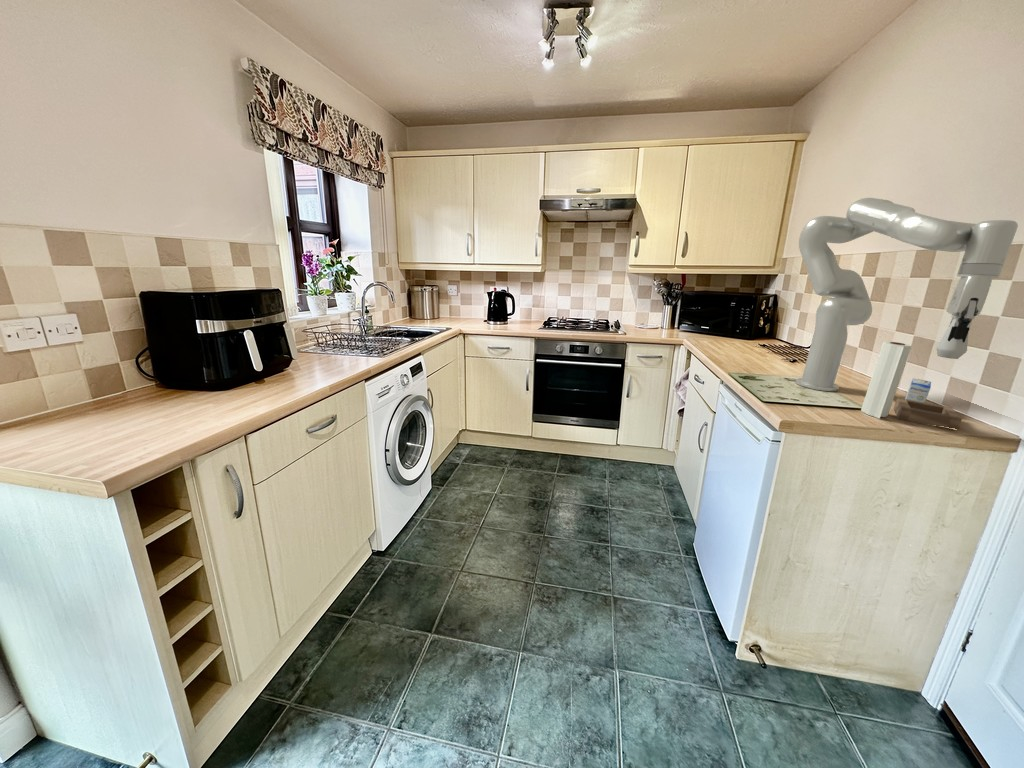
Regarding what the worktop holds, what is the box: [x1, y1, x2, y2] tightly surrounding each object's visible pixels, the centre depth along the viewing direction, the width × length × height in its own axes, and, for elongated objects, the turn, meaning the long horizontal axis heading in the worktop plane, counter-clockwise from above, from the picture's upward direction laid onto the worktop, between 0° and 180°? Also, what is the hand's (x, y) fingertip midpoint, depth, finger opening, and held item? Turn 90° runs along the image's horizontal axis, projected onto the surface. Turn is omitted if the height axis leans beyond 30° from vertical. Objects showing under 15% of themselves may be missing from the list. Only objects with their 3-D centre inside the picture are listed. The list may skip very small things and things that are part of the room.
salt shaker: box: [935, 312, 976, 360], centre depth 111 cm, size 6×6×13 cm
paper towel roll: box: [860, 341, 912, 420], centre depth 117 cm, size 7×6×21 cm
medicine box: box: [904, 378, 932, 403], centre depth 127 cm, size 8×4×9 cm, turn 134°
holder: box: [893, 397, 963, 430], centre depth 118 cm, size 12×12×4 cm
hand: (954, 340), depth 111 cm, fingers closed on salt shaker, 3 cm apart
